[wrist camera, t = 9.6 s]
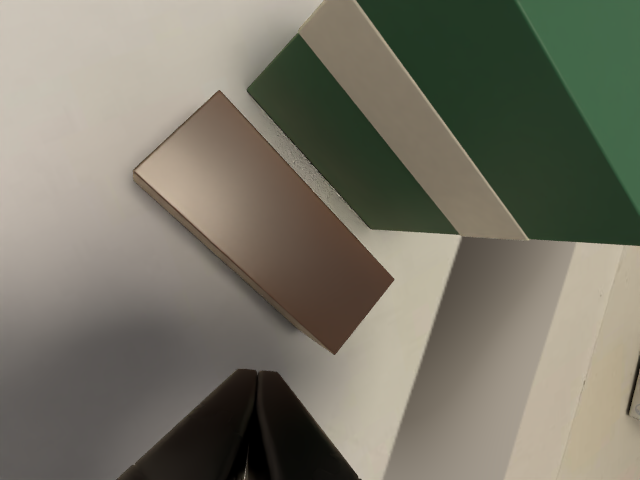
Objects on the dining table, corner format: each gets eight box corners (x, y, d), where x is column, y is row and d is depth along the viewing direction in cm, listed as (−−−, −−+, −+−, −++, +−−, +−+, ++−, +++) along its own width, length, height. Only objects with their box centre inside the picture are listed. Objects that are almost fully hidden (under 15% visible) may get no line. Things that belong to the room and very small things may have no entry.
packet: (371, 231, 22) (659, 251, 10) (244, 90, 19) (438, -130, 7) (417, 175, 23) (731, 131, 11) (304, 32, 20) (566, -247, 8)
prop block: (299, 330, 20) (335, 355, 17) (132, 179, 17) (131, 170, 13) (350, 268, 21) (395, 279, 18) (202, 114, 18) (219, 89, 14)
